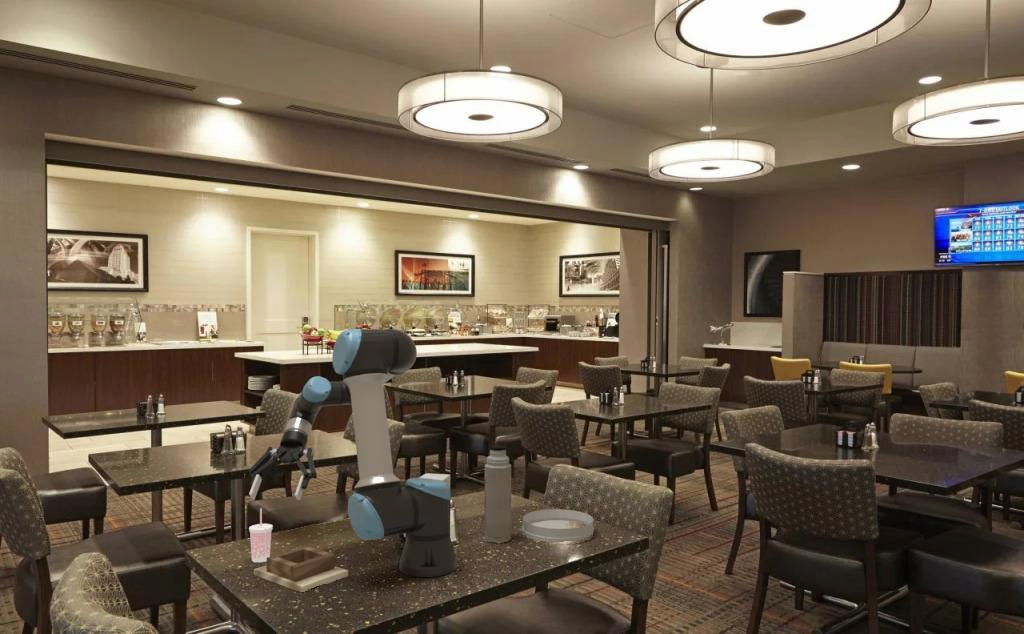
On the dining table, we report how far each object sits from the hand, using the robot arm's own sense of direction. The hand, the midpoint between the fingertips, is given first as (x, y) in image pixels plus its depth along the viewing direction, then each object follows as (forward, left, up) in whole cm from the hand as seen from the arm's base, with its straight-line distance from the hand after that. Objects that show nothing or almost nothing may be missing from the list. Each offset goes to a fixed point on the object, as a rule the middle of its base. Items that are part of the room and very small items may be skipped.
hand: (274, 497), depth 202 cm
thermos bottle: (-46, -45, -15) cm, 66 cm away
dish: (-57, -61, -15) cm, 85 cm away
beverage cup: (-5, +8, -15) cm, 18 cm away
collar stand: (-24, +9, -15) cm, 30 cm away
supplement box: (-18, -47, -15) cm, 53 cm away
